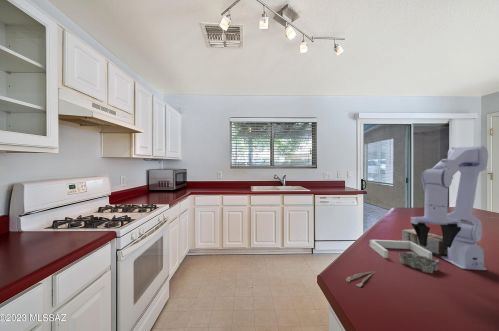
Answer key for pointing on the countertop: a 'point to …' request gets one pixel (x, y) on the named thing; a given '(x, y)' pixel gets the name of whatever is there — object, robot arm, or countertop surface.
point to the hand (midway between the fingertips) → (434, 246)
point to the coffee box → (433, 242)
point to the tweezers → (359, 276)
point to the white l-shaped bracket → (382, 244)
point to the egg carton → (418, 261)
